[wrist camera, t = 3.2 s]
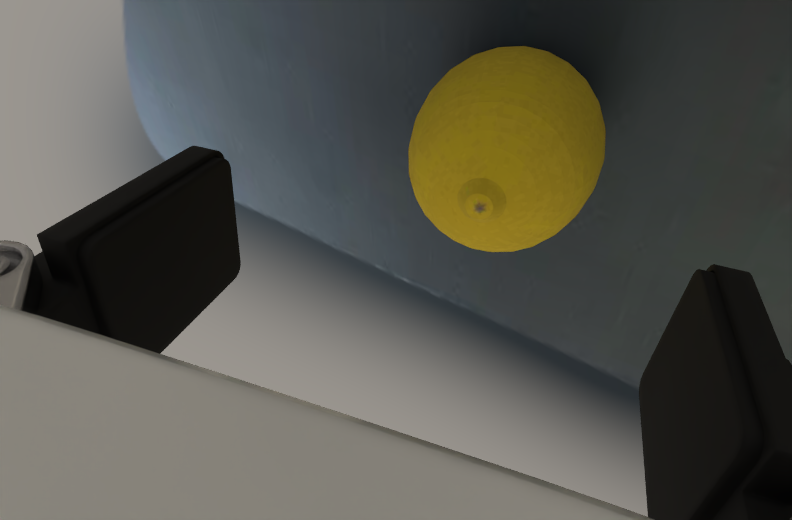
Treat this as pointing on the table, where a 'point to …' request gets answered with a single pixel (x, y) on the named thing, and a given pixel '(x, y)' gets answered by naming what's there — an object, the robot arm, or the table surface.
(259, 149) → the table surface
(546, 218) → the lemon
